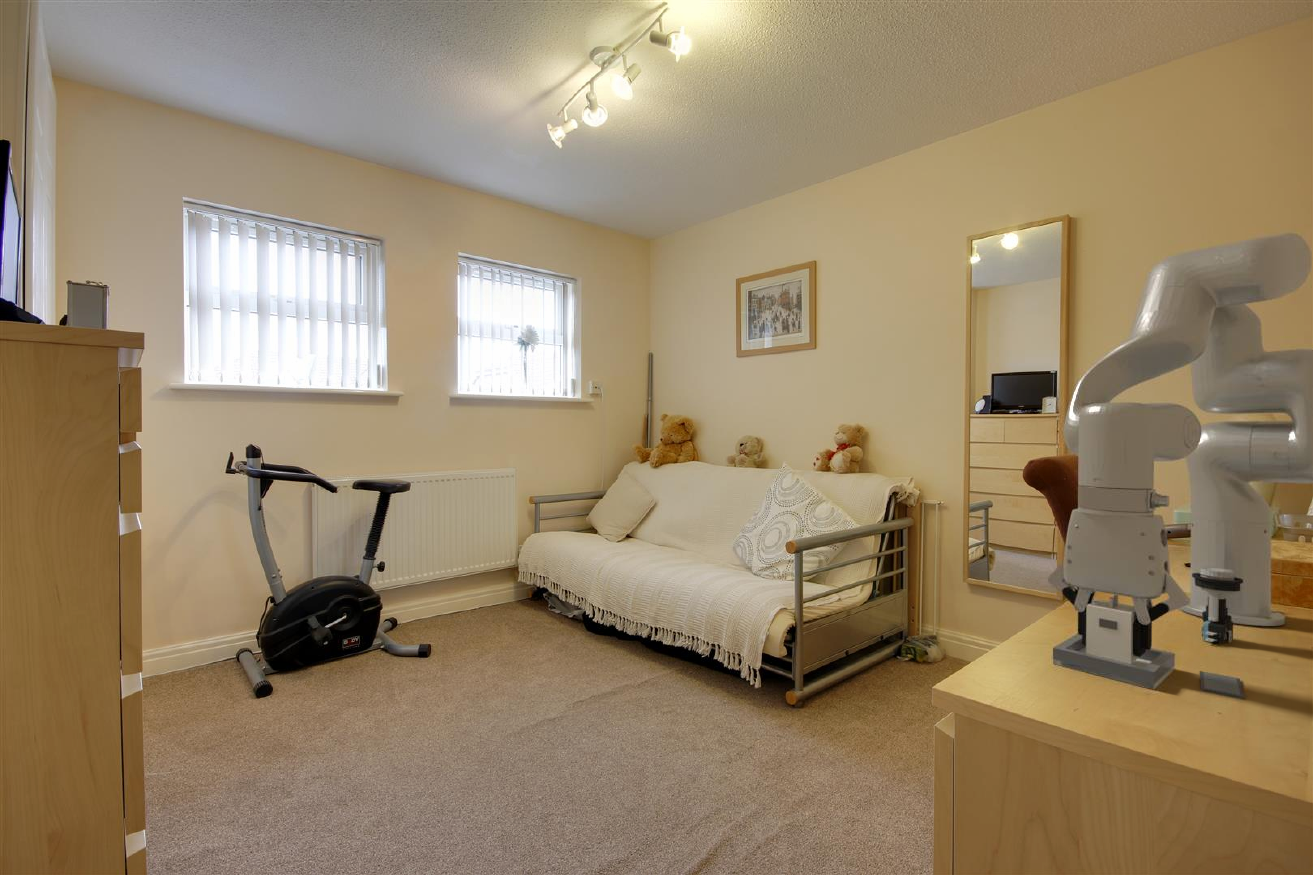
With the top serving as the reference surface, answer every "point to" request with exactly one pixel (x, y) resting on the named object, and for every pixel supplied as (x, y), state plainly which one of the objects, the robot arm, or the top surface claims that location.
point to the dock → (1116, 664)
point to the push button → (1217, 602)
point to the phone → (1221, 685)
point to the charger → (1110, 630)
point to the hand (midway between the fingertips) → (1113, 646)
